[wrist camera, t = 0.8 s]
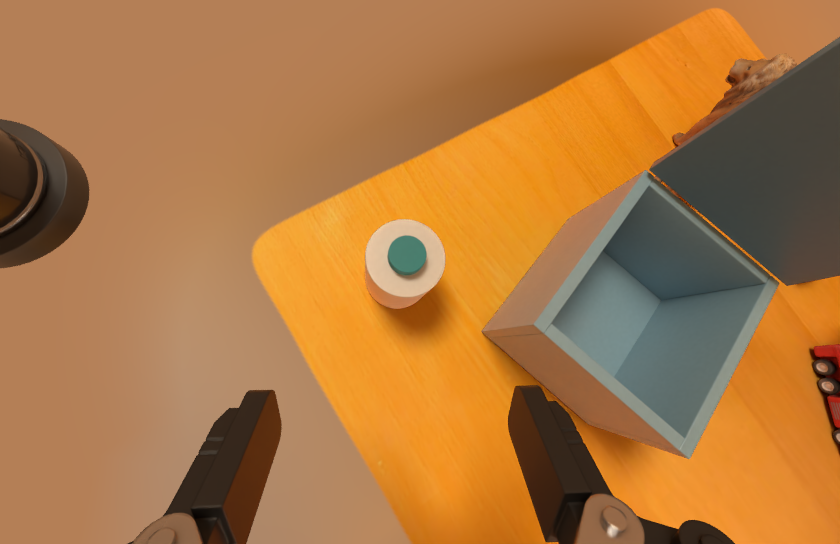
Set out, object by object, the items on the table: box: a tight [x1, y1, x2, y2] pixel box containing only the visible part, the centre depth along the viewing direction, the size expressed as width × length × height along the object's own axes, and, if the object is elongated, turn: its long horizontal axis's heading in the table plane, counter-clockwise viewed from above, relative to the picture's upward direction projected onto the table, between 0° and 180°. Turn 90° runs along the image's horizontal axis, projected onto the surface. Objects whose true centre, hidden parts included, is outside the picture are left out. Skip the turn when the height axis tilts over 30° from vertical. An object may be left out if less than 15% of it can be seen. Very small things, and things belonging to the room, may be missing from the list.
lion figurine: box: [654, 54, 797, 197], centre depth 31 cm, size 15×5×9 cm, turn 148°
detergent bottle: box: [365, 219, 445, 309], centre depth 25 cm, size 5×5×8 cm
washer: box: [482, 170, 779, 459], centre depth 26 cm, size 14×12×9 cm
